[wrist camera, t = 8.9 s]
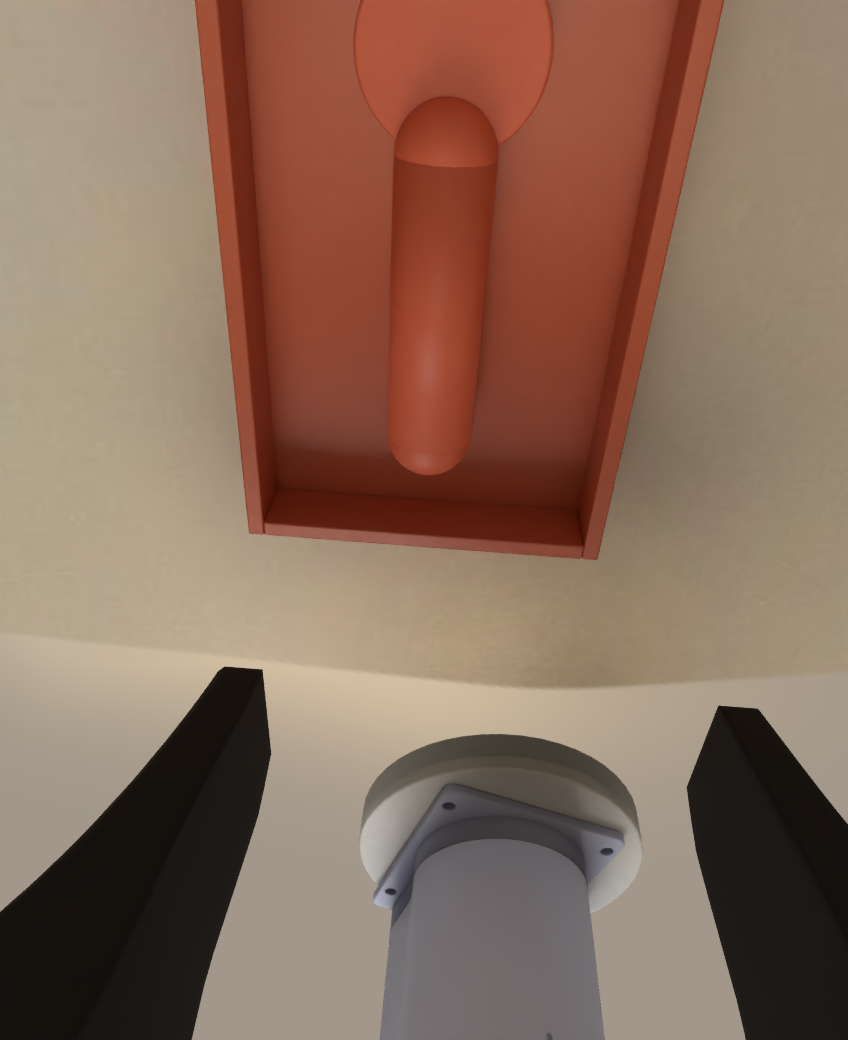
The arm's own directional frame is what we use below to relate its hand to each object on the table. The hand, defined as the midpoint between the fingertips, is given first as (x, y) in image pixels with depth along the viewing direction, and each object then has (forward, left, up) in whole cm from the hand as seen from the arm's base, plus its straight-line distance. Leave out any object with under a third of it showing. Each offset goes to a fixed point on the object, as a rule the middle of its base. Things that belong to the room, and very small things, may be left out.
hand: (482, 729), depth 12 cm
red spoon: (+5, +3, -9) cm, 11 cm away
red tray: (+5, +3, -9) cm, 11 cm away
